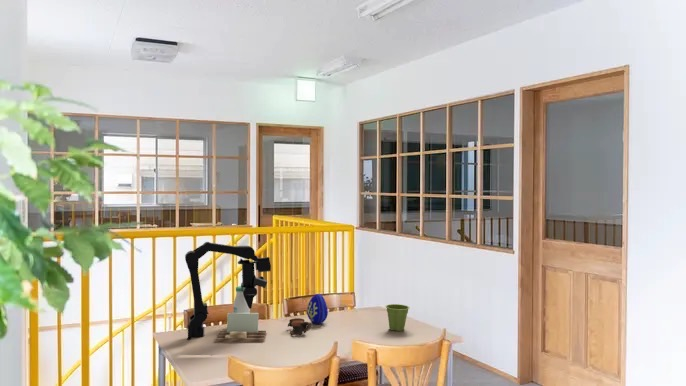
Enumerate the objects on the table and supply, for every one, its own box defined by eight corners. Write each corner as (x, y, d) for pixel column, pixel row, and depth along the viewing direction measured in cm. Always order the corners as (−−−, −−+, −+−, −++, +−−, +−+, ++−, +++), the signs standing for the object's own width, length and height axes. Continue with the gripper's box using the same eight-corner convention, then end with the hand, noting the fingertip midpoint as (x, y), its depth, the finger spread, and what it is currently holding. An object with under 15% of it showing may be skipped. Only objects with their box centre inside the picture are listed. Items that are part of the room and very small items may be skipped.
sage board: (226, 335, 245) (227, 313, 245) (227, 334, 246) (227, 312, 246) (257, 335, 246) (258, 313, 246) (258, 334, 247) (258, 312, 247)
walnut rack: (214, 344, 234) (214, 338, 234) (219, 335, 249) (219, 329, 249) (264, 344, 235) (264, 338, 235) (267, 335, 250) (267, 329, 250)
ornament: (303, 322, 275) (304, 293, 275) (317, 319, 281) (318, 291, 281) (317, 326, 267) (318, 296, 267) (331, 323, 273) (331, 294, 273)
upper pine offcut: (229, 336, 236) (229, 333, 236) (230, 334, 239) (230, 331, 239) (245, 336, 236) (245, 333, 236) (246, 334, 239) (246, 331, 239)
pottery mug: (283, 336, 250) (284, 319, 255) (293, 340, 258) (293, 324, 262) (306, 332, 246) (306, 315, 251) (315, 337, 254) (315, 320, 258)
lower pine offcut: (224, 341, 235) (225, 336, 235) (226, 339, 239) (226, 334, 239) (245, 341, 236) (245, 336, 236) (246, 339, 239) (246, 334, 239)
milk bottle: (252, 324, 266) (250, 284, 264) (248, 329, 258) (246, 288, 257) (237, 324, 267) (235, 285, 265) (232, 329, 259) (230, 289, 257)
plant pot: (401, 334, 256) (401, 310, 256) (380, 329, 263) (380, 306, 263) (413, 329, 266) (414, 306, 266) (393, 325, 273) (393, 303, 273)
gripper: (267, 275, 243) (268, 309, 243) (263, 268, 261) (264, 300, 261) (242, 276, 240) (244, 311, 240) (240, 270, 258) (241, 302, 259)
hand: (249, 306), depth 250 cm, fingers open, 9 cm apart
